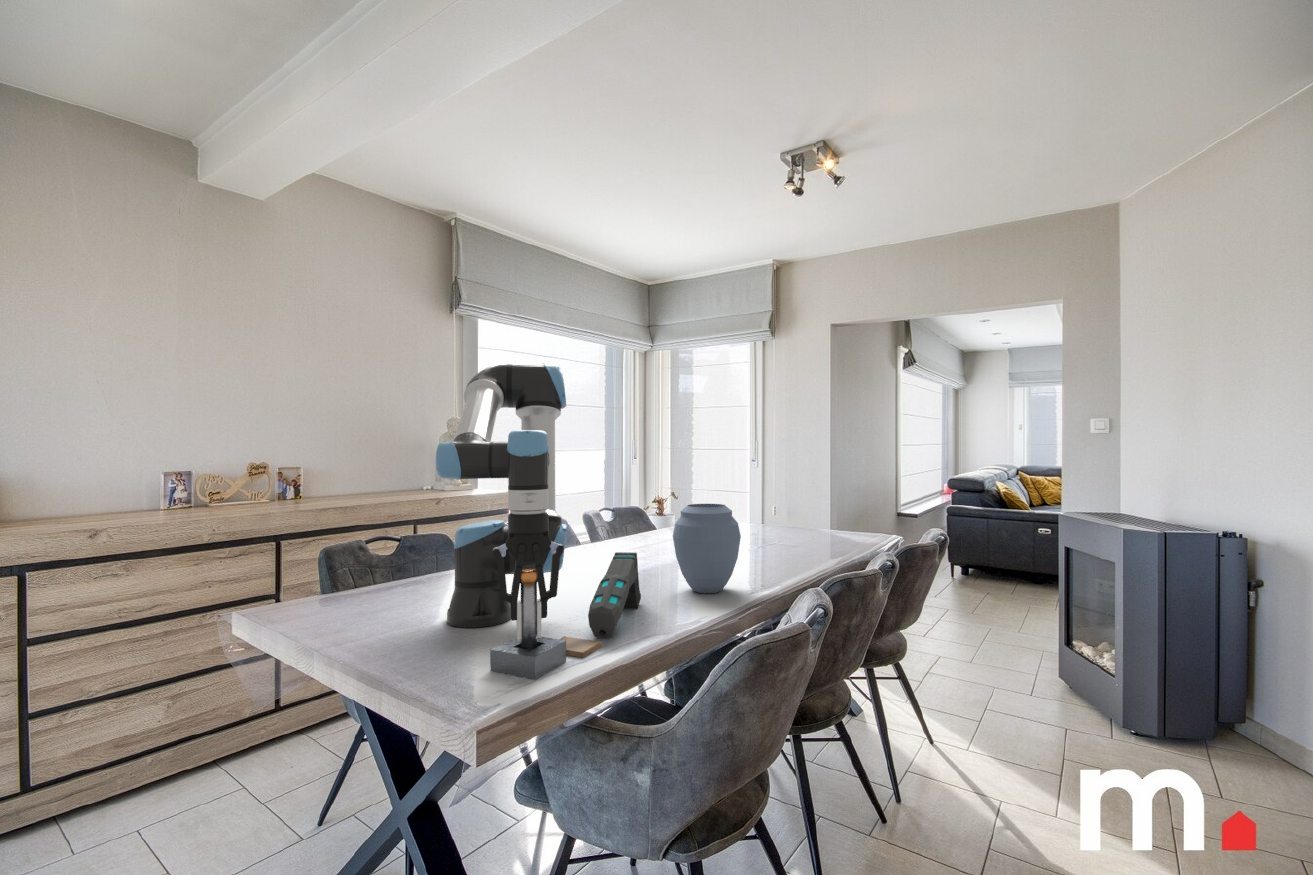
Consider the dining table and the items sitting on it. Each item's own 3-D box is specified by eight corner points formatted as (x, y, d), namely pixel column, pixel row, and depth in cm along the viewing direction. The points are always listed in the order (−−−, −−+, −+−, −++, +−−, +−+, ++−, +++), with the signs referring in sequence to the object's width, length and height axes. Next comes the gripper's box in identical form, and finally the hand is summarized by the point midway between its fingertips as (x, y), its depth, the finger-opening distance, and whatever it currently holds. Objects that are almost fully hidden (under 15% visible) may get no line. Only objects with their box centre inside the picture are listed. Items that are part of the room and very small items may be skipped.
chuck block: (490, 671, 110) (490, 649, 110) (523, 654, 119) (523, 634, 119) (535, 679, 106) (535, 657, 106) (566, 661, 115) (566, 640, 115)
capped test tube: (519, 654, 110) (518, 573, 110) (518, 648, 113) (517, 569, 114) (540, 652, 111) (539, 572, 111) (538, 646, 114) (538, 568, 115)
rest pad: (545, 651, 120) (545, 646, 120) (564, 641, 127) (564, 636, 127) (583, 657, 117) (583, 652, 117) (601, 646, 123) (601, 641, 123)
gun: (642, 596, 158) (638, 545, 154) (620, 670, 130) (615, 610, 126) (618, 595, 159) (614, 545, 155) (591, 668, 131) (585, 609, 127)
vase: (744, 584, 178) (743, 502, 178) (738, 600, 159) (737, 509, 159) (680, 581, 182) (679, 501, 183) (666, 597, 163) (665, 508, 164)
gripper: (484, 515, 107) (484, 646, 106) (573, 512, 111) (574, 638, 111) (484, 511, 114) (485, 634, 114) (568, 508, 118) (569, 626, 118)
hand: (529, 635), depth 112 cm, fingers closed on capped test tube, 3 cm apart
